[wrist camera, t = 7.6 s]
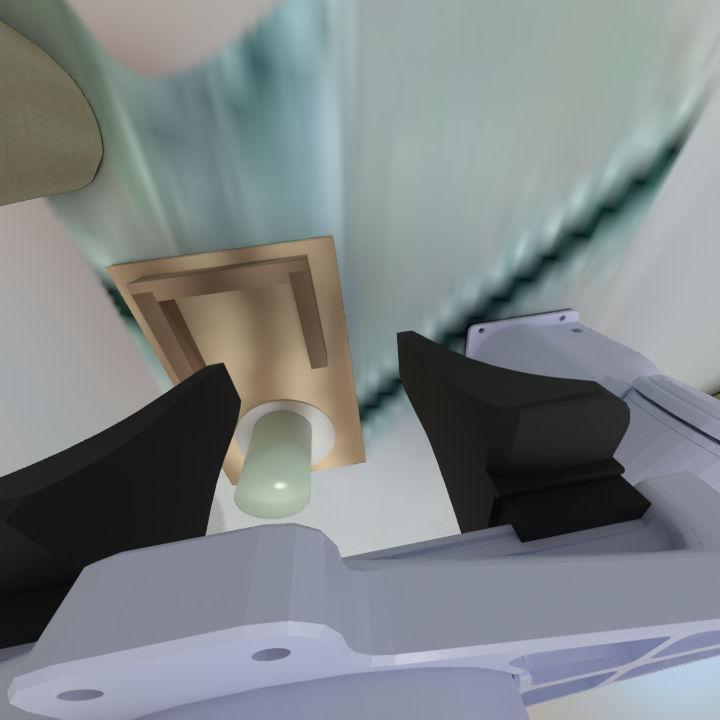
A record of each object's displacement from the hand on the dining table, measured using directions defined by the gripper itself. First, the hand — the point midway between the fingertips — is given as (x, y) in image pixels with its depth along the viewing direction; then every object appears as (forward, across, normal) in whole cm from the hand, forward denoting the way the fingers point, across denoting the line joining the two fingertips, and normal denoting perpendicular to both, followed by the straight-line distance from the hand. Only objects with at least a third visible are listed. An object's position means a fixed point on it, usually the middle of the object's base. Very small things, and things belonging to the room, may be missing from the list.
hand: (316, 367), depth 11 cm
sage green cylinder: (+9, +6, +13) cm, 17 cm away
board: (+10, +6, +7) cm, 13 cm away
